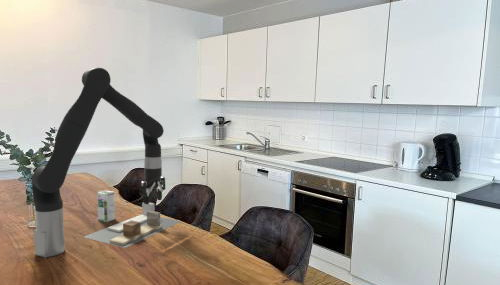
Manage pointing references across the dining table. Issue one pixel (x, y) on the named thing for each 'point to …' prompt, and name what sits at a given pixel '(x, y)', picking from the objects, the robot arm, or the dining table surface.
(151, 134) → the robot arm
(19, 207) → the dining table surface
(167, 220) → the lane board
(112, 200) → the syrup box
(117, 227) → the white long l-shaped piece
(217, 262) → the dining table surface
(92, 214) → the dining table surface
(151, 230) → the birch strip
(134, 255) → the dining table surface
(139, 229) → the walnut block
